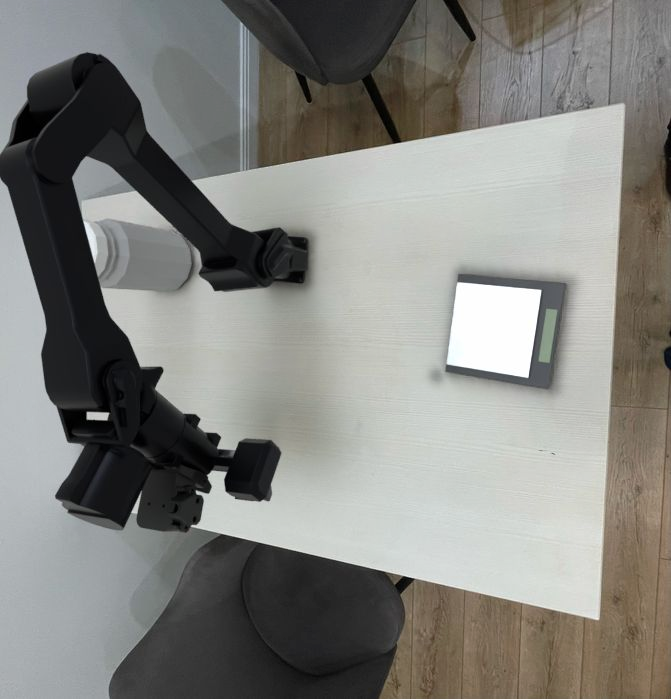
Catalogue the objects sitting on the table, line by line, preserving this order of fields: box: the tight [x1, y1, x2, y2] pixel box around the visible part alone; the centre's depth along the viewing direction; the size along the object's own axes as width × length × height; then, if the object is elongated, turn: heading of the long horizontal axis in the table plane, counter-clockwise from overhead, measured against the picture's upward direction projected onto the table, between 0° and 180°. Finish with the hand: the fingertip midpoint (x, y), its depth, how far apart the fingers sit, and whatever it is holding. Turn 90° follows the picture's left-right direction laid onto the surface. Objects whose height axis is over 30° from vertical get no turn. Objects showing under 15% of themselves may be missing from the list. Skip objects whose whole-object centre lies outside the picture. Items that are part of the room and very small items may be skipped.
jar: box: [83, 218, 193, 293], centre depth 80 cm, size 10×10×18 cm
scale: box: [444, 273, 567, 390], centre depth 63 cm, size 12×12×3 cm
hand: (238, 493), depth 66 cm, fingers open, 9 cm apart
